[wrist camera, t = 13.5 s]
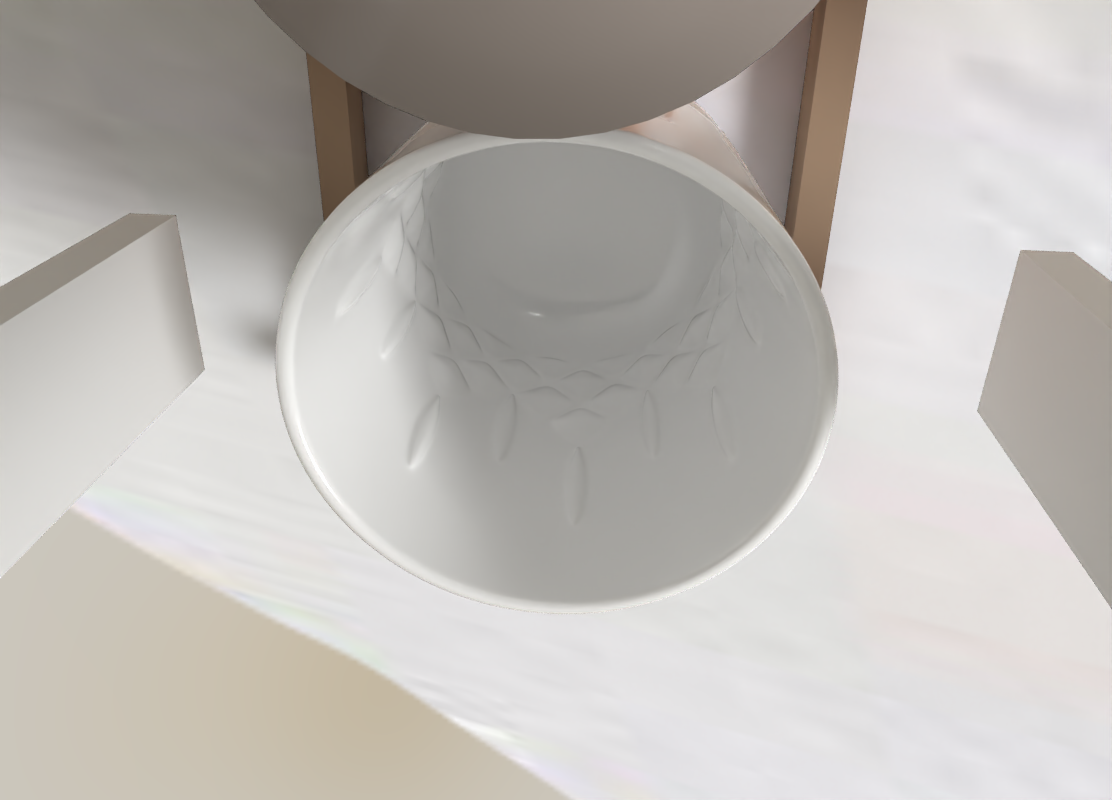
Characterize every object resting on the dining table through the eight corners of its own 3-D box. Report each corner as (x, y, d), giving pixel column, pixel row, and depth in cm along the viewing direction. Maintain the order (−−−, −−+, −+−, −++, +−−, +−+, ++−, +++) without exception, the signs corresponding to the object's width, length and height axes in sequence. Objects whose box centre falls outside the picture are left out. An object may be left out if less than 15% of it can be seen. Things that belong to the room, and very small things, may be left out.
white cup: (438, 347, 24) (333, 618, 15) (389, 25, 20) (209, 142, 11) (743, 336, 23) (817, 614, 14) (755, -1, 19) (867, 103, 10)
